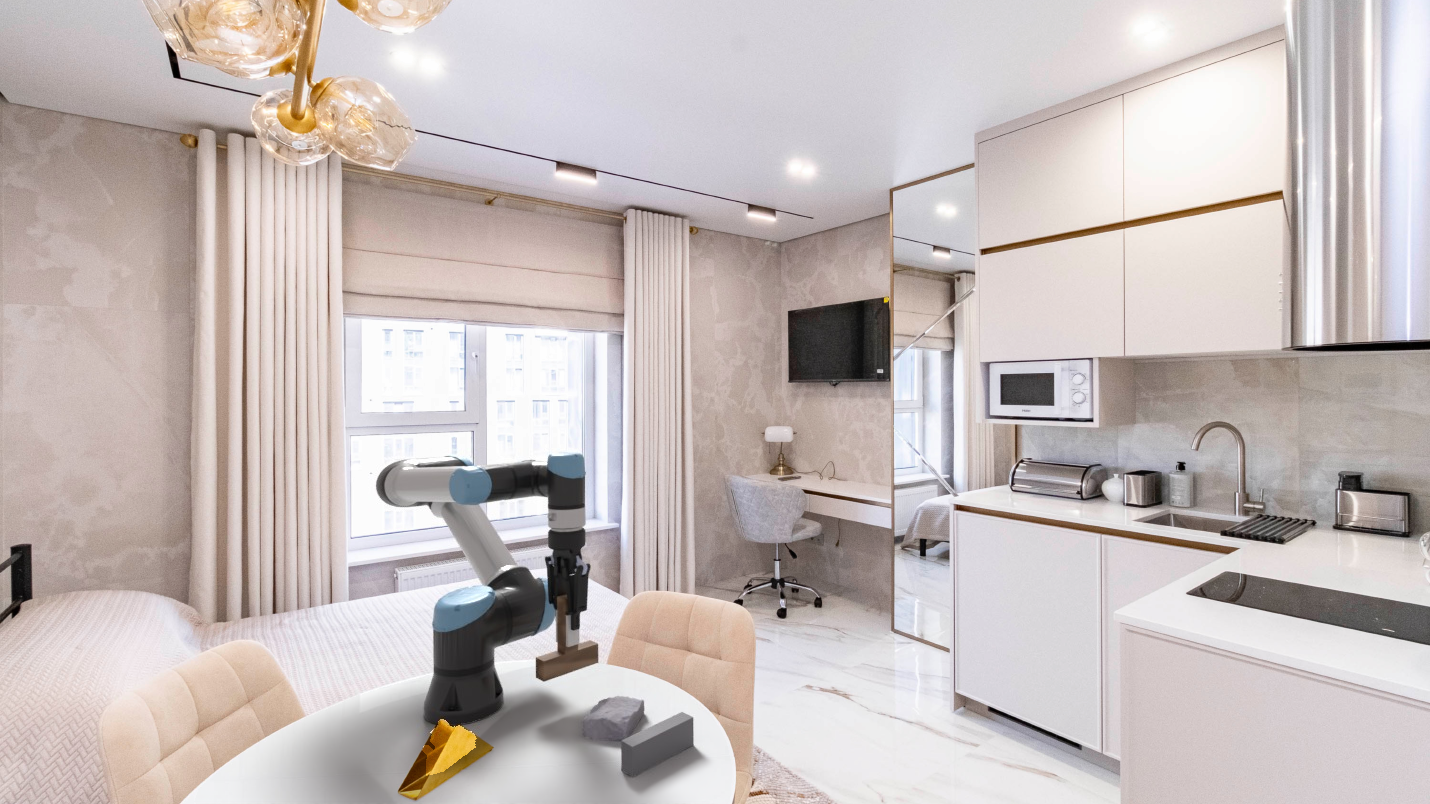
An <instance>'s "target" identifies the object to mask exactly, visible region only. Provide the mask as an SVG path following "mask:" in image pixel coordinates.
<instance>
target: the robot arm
mask: <svg viewBox="0 0 1430 804" xmlns="http://www.w3.org/2000/svg"><path fill="white" fill-rule="evenodd" d="M585 465H586V464H585V457H584V455H583V454H582V453H580V452H555V453H550V454H549V455H548V456H547V461H542V460H536V459H529V460H528V459H524V460H518V461H517V462H507V463H496V464H480V465H474V463H473V462H472V461H471V460H470V459H469V458H467V457H464V456H459V455H458V456H457V455H456V456H454V455H446V456H441V457H440V456H439V457H425V458H409V459H401V460H398V461H394V462H392V463H390V464H389V465H387V466H386V467H384V468H383V469H382V470H381V471H380V473H379V474H378V476H377V479H376V482H375V483H376V484H375V491H376V493H377V496H378V497H379V498H380V500H381V501H383V503H385V504H387V505H389V506H390V507H391V506H392V507H395V508H413V507H421V506H422V507H423V506H427V507H428V508H429V510H430V512H431V513H432V515H433V516H435V517H436V518H440V519H443V520H444V523H445V524H446V525H447V527H448V529H449V531H450V532H451V534H452V536H453V538H454V539H455V541H456V543H457V544H458V546H459V547H460V550H461V551H462V553H463V554H464V556H465V558H466V560H467V561H468V563H469V565H470V566H471V569H472V570H473V572H474V574H475V575H476V577H477V578H478V580H479V581H480V583H481V585H473V586H470V587H469V586H466V587H460V588H459V589H455V590H453V591H449V592H447V593H446V594H445V595H443V596H441V597H440V598H439V599H438V600H437V602H436V603H435V605H434V607H433V617H432V623H431V625H432V626H431V627H432V633H433V635H432V639H433V640H432V641H433V642H432V644H433V646H432V650H433V664H432V665H433V675H432V678H431V681H430V684H429V686H428V690H427V693H426V696H425V700H424V702H423V716H424V718H425V720H426V721H428V722H430V723H432V724H435V725H438V724H437V723H438V721H439V720H440V719H444V720H446V721H447V722H448V723H449V724H450V725H449V726H459V724H460V725H464V724H470V723H471V724H472V723H474V722H477V721H481V720H483V719H486V718H488V717H490V716H492V715H493V714H495V713H497V712H498V711H499V710H501V708H502V707H503V705H504V688H503V686H502V683H501V680H500V678H499V675H498V672H497V669H496V666H495V649H496V648H498V647H501V646H504V645H508V644H511V643H514V642H516V641H520V640H523V639H525V638H528V637H534V636H536V635H538V634H540V633H542V632H545V631H546V630H548V629H549V628H550V627H551V626H552V625H553V623H554V621H555V642H556V643H557V597H558V596H562V595H566V594H567V601H568V612H565V614H566V646H567V647H570V646H574V645H577V644H579V643H580V627H581V613H582V612H586V611H587V610H588V595H589V594H588V593H589V576H590V575H589V574H590V571H591V567H592V566H591V563H585V562H584V561H583V556H582V548H584V547H585V546H586V542H587V541H586V529H585V526H586V525H587V524H586V523H587V522H586V516H587V515H586V474H587V471H586V466H585ZM531 497H540V498H541V497H542V498H547V509H548V510H547V513H548V514H547V520H548V521H547V523H548V524H547V525H548V527H549V528H550V529H549V530H548V531H547V547H548V548H549V549H550V550H552V552H551V553H552V554H551V555H547V556H545V557H544V562H545V566H546V575H547V578H544V577H537V578H535V577H534V576H533V574H532V573H531V571H530V569H529V568H528V567H527V566H525V565H518V564H517V562H516V560H515V558H514V557H513V556H512V553H511V552H510V551H509V549H508V548H507V546H506V544H505V543H504V541H503V539H502V538H501V536H500V535H499V534H498V532H497V530H496V529H495V527H494V526H493V524H492V523H491V520H490V518H489V517H488V516H487V515H486V512H485V511H484V510H483V508H482V507H481V504H486V503H487V504H488V503H492V502H500V501H509V500H516V499H524V498H531ZM573 607H574V608H573Z"/></svg>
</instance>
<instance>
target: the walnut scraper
mask: <svg viewBox="0 0 1430 804" xmlns="http://www.w3.org/2000/svg"><path fill="white" fill-rule="evenodd" d="M573 608H574V607H573ZM565 612H568V601H567V594H566V595H562V596H558V597H557V642H556V643H557V644H556V645H557V650H555V651H551V652H549V653H545V654H542V655H539V656H535V678H536V679H537V680H540V681H541V682H543V683H544V682H547V681H550V680H552V679H556V678H559V677H562V676H564V675H567V674H570V673H573V672H576V671H578V670H582V669H585V668H587V667H589V666H592V665H595V664H599V643H598V642H596V641H593V640H586V641H583V642H579V644H577V645H574V646H570V647H567V646H566V614H565Z"/></svg>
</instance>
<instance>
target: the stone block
mask: <svg viewBox="0 0 1430 804" xmlns="http://www.w3.org/2000/svg"><path fill="white" fill-rule="evenodd" d="M644 714H645V700H644V699H638V698H635V697H629V696H623V695H621V696H620V695H616V696H613V697H607V698H603V699H601V700H599V701H598V702H597V704H595V705H594V706H593V707H592V708H591V709H590V710H589V712H588V714H587V715H586V716H585V717H584V719H583V721H582V724H581V725H582V726H581V730H582V732H583V735H584V737H585V738H587V739H592V740H594V741H595V740H598V741H599V740H600V741H606V740H607V741H614V742H617V741H619V742H621V740H623V739H626V738H628V737H630V736H632V735H631V734H632V733H633V731H634V730H635V728H636V727H637V725H638V724H639V722H640V720H641V719H642V718H643V716H644Z"/></svg>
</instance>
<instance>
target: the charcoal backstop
mask: <svg viewBox="0 0 1430 804" xmlns="http://www.w3.org/2000/svg"><path fill="white" fill-rule="evenodd" d="M694 732H695V731H694V716H691V715H689V714H688V713H685V712H683V711H680V712H678V713H676V714H674V715H671V716H670V717H669V718H666V719H664V720H662V721H660V722H657V723H656V724H653V725H651V726H648V727H647V728H645V729H643V730H641V731H639V732H637V733H634V734H632V735H630V736H629V737H628V738H626V739H623V740H621V741H620V744H621V745H620V749H621V751H620V752H621V757H620V758H621V761H620V762H621V766H620V767H621V771H622V772H623V773H625V774H627V775H628V776H629V777H631V778H634V777H636V776H638V775H640V774H642V773H643V772H646V771H647V770H650V769H651V768H653V767H655V766H657V765H659V764H661V763H662V762H664V761H667V760H668V759H670V758H672V757H674V756H675V755H677V754H679V753H681V752H683V751H685V750H687V749H689V748H691V747H692V746H694V744H695V743H694V741H695V740H694V739H695V738H694Z"/></svg>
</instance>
